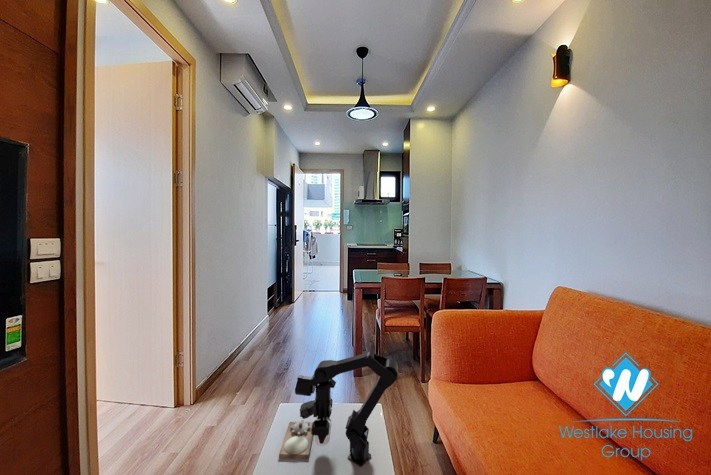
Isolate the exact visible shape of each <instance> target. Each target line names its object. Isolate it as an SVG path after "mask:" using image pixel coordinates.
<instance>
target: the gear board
mask: <svg viewBox="0 0 711 475" xmlns="http://www.w3.org/2000/svg"><path fill="white" fill-rule="evenodd" d="M304 420H305V419H301V420H300V421H289V422H288V426H287V429H286V433H285V435H284V437H283V441H282V444H281V448H280V449H279V453H278V459H306V460H307V459H309V458H310V454H311V448H312V445H313V439H314V435H312V434H311V428H312V423H313V422H314V421H304Z"/></svg>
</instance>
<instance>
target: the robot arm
mask: <svg viewBox="0 0 711 475" xmlns="http://www.w3.org/2000/svg"><path fill="white" fill-rule="evenodd" d="M366 367H368V368H369V369H370V370H372V372H374V373H375V374H376V375H377V376H378V378H377V380H376V382H374V385H373V386H372V389H371V390H370V391H369V393H368V395H367V396H366V397H365V400H364V401H363V403H362V405H361V407H359V409H358V410H357V411H356V410H355V409H353V410H352V413H351V414H350V415H349V416H348V418H347V422H346V426H345V429H346V431H345V436H346V438H347V439H348V441H349V454H348V455H347V459H348V460H350V461H351V462H353V463H355V464H357V465H358V466H359V467H363V466H364V464H366V462H367V461H369V459H370V458H371V457H372V454H371V453H370V452H369V451H370V442H369V441H368V438H369V436H368V435H369V430H370V429H369V427H368V426H367V425H366V424H367V421H368V420H369V417H370V416H371V414H372V412H373V411H374V409H375V407H376V406H377V404H378V402H379V401H380V400H381V398H382V397H383V394H384V393H385V391H386V390H387V389H388V388H390V387H392V386H393V384H394V383H395V382H396V381H397V380H398V376H399V366H398V363H397V361H395V360H394V359H391V358H390V359H389V358H387V357H385V356H384V355H380V354H377V353H374V352H372V351H366V352H364V353H361V354H358V355H354V356H350V357H346V358H342V359H339V360H334V359H328V360H327V359H325V360H321V361H320V362H319V364H318V365H317V366H316V369H315V370H314V372H313V374H312V376H307V375H305V376H304V375H301V374H300V375H298V376H297V380H296V383H295V387H294V394H295V395H297V396H305V397H311V396H312V395H313V394H315V397H314V399H313V400H310V401H309V400H308V401H306V402H303V403H302V404H301V405H300V408H299V417H300V418H301V419H302V420H305V419H308V418H309V417H312V416H313V418H316V419H320V420H315V419H314V420H313V421H312V422H313V423H312V428H311V434H312V435H313V436H314V435H318V438H319V442H320V444H323V442H324V440H325V438H326V436H327V435H329V428H330V423H329V422H328V421H327V417H328V418H330V419H331V416H332V410H333V409H332V408H333V398H332V396H331V394H332V393H331V392H332V391H331V389H334V388H335V386H336V384H337V381H336V380H334V379H333V378H335V377H337V376H338V375H340V374H344V373H347V372H348V373H349V372H352V371H355V370H359V369H362V368H366ZM323 419H324V420H323Z"/></svg>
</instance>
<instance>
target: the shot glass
mask: <svg viewBox="0 0 711 475" xmlns="http://www.w3.org/2000/svg"><path fill="white" fill-rule="evenodd" d="M315 420H320V419H317V418H315V419H314V421H315ZM323 420H324V419H323ZM327 421H328V422H329V423H330V428H329V435H327V436H326V438H325V440H324V442H323V444H320V442H319V438H318V435H313V437H314V443H315V444H316V445H317V446H320V447H321V446H327V445H328V444H329V443H330V440H331V433H332V432H331V431H332V419H331V417H330V418H328V417H327Z"/></svg>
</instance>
